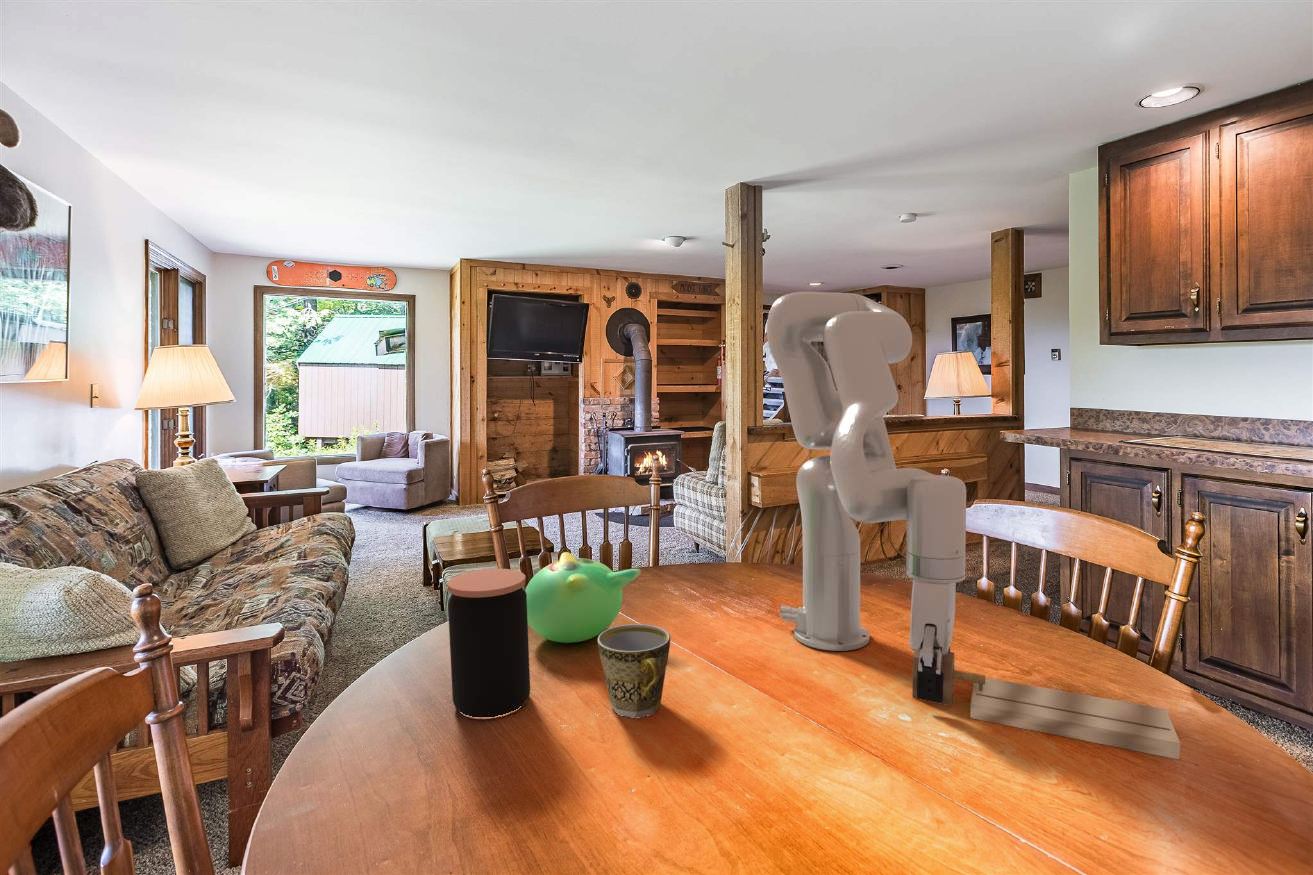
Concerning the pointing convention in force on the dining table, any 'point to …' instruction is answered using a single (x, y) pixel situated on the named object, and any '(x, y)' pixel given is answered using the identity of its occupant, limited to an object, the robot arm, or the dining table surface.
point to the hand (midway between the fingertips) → (934, 684)
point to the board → (1076, 716)
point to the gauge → (947, 677)
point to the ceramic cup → (634, 667)
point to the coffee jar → (489, 642)
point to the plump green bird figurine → (575, 598)
